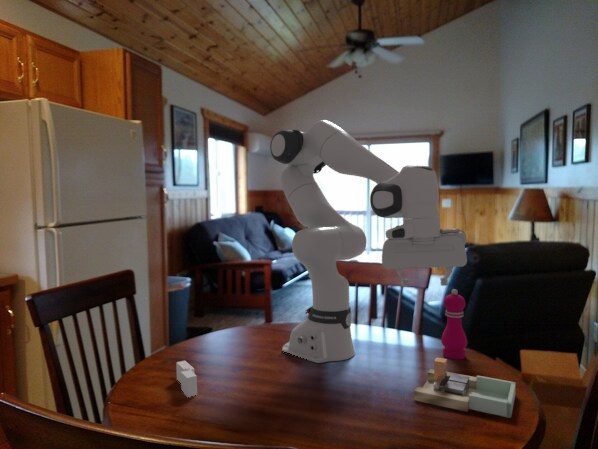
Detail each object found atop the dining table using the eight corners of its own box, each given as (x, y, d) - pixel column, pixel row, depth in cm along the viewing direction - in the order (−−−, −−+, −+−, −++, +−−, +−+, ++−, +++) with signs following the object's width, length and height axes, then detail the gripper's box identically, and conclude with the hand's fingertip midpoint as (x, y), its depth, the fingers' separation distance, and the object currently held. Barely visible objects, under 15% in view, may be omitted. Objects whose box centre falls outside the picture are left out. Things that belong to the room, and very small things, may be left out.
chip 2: (444, 399, 99) (444, 386, 99) (448, 392, 102) (448, 380, 102) (462, 403, 97) (462, 390, 97) (465, 396, 100) (466, 383, 100)
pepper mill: (469, 361, 125) (469, 292, 123) (442, 359, 126) (443, 291, 125) (464, 352, 132) (465, 286, 130) (439, 350, 133) (440, 286, 132)
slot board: (414, 404, 99) (414, 391, 99) (430, 379, 112) (430, 368, 112) (467, 416, 94) (467, 402, 93) (478, 389, 106) (478, 377, 106)
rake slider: (430, 395, 100) (430, 365, 100) (439, 381, 108) (439, 353, 108) (441, 397, 99) (441, 367, 99) (449, 383, 107) (449, 354, 106)
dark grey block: (448, 391, 103) (448, 379, 103) (451, 385, 106) (452, 373, 106) (466, 395, 101) (466, 382, 101) (469, 388, 104) (469, 376, 104)
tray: (468, 413, 95) (468, 395, 95) (477, 391, 105) (477, 375, 105) (510, 422, 91) (511, 403, 90) (515, 399, 101) (515, 382, 101)
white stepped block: (173, 377, 117) (173, 357, 117) (215, 378, 116) (214, 357, 116) (150, 404, 102) (150, 380, 102) (198, 405, 101) (197, 381, 101)
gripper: (463, 227, 109) (465, 282, 109) (380, 231, 112) (382, 284, 112) (468, 228, 103) (471, 286, 103) (380, 232, 106) (383, 288, 106)
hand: (424, 285), depth 108 cm, fingers open, 8 cm apart
